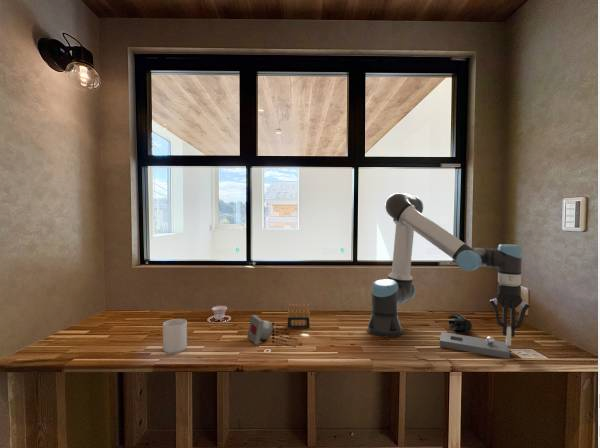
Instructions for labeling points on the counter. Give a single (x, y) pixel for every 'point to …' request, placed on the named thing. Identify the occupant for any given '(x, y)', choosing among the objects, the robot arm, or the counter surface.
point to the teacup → (219, 314)
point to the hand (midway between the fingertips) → (508, 344)
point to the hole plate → (474, 345)
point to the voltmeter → (264, 331)
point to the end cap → (459, 324)
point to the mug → (174, 336)
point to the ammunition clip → (294, 317)
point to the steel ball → (490, 340)
